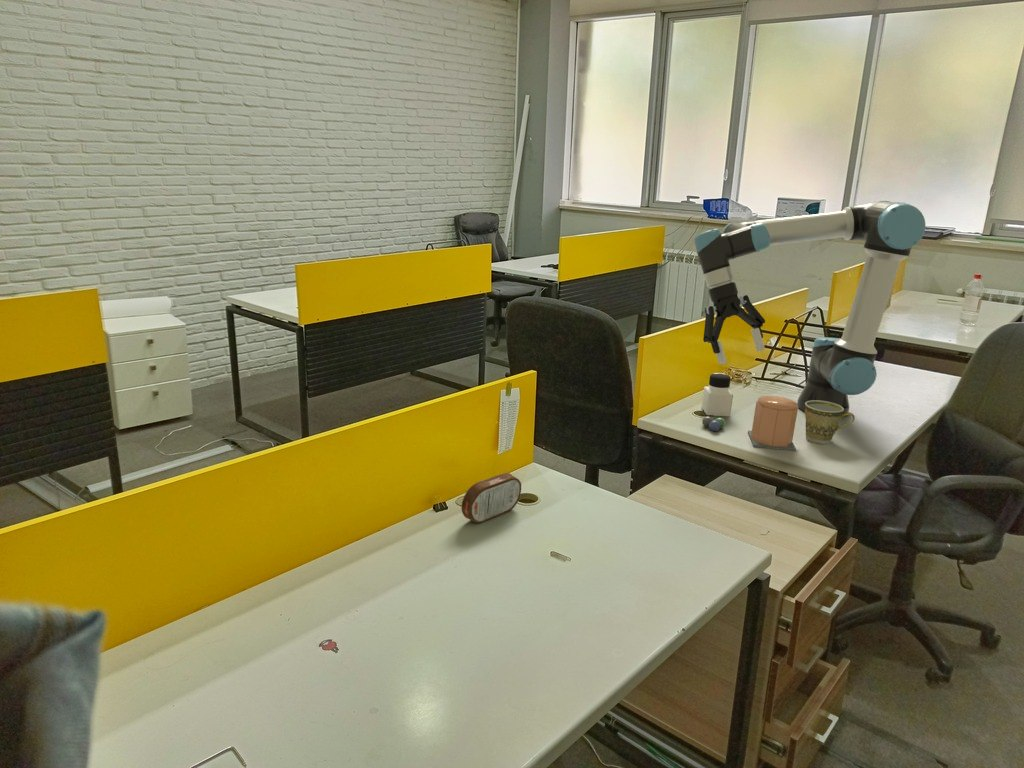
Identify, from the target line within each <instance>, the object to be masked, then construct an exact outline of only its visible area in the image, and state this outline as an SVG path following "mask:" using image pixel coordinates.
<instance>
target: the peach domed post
mask: <svg viewBox="0 0 1024 768" xmlns="http://www.w3.org/2000/svg"><path fill="white" fill-rule="evenodd" d="M798 410H799V408H798V407H797V402H796V401H794V400H793V399H789V398H787V397H783V396H777V395H762V396H760V397H758V399H757V400H756V401H755V407H754V414H753V421H752V427H751V428H752V429H751V431H752V433H751V437H752V438H753V439H754V440H755V441H756V442H758V443H762V444H765V445H769V446H788V445H789V444H791V443H792V442H793V441H794V433H795V427H796V423H797V415H798Z"/></svg>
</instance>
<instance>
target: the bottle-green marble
mask: <svg viewBox="0 0 1024 768" xmlns="http://www.w3.org/2000/svg"><path fill="white" fill-rule="evenodd" d="M714 421H718V422H719V424H720V428H719V429H722V428H724V427H725V425H726V422H725V419H724V418H722V417H717V418H716V419H714Z"/></svg>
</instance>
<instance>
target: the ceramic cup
mask: <svg viewBox="0 0 1024 768" xmlns="http://www.w3.org/2000/svg"><path fill="white" fill-rule="evenodd" d="M843 411H844V408H843V407H842V406H840V405H838V404H835V403H832V402H827V401H820V400H811V401H807V402H806V403H805V411H804V418H805V439H806V440H807V441H809V442H811V443H815V444H819V445H827V444H831V442H832V440H833V437H834V436H835V434H836V432H837V431H838V430H840V429H842V428H843V427H845V426H847V425H849V424H852V423H853V422H855V415H854V413H852V412H846V413H843ZM846 415H847V416H851V417H852V420H851V421H848V422H847V423H844V424H841V425H840V426H838V425H839V422H840V421H841V420H842V419H843V418H844V417H846Z"/></svg>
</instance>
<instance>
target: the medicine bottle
mask: <svg viewBox="0 0 1024 768" xmlns="http://www.w3.org/2000/svg"><path fill="white" fill-rule="evenodd" d="M731 380H732V379H731V377H730V376H729V375H728V374H725V373H723V372H722V373H721V372H714V373H711V374H710V376H709V382H708V386H706V385H705V386H704V387H703V392H702V401H701V410H704V411H703V412H704V413H705V415H706V416H710V415H714V417H715V416H716V417H731V410H732V405H733V404H732V403H733V398H734V394H733V393H732V391H730V385H731Z"/></svg>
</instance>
